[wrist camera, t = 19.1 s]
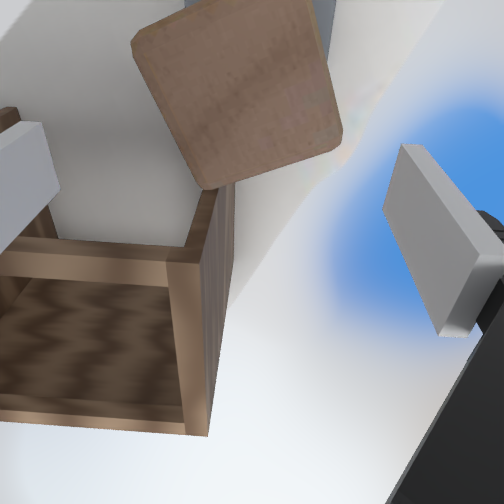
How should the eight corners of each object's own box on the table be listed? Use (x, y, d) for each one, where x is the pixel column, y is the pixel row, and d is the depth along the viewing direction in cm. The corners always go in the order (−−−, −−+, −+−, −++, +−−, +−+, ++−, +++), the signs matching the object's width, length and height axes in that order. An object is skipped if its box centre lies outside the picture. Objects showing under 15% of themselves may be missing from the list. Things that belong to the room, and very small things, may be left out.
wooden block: (187, 6, 36) (117, 40, 20) (290, -42, 33) (301, -46, 18) (229, 108, 41) (199, 200, 26) (319, 74, 39) (349, 151, 23)
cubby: (53, 249, 55) (-77, 415, 35) (6, 106, 43) (-235, 234, 23) (233, 261, 55) (207, 436, 35) (236, 121, 43) (199, 263, 22)
